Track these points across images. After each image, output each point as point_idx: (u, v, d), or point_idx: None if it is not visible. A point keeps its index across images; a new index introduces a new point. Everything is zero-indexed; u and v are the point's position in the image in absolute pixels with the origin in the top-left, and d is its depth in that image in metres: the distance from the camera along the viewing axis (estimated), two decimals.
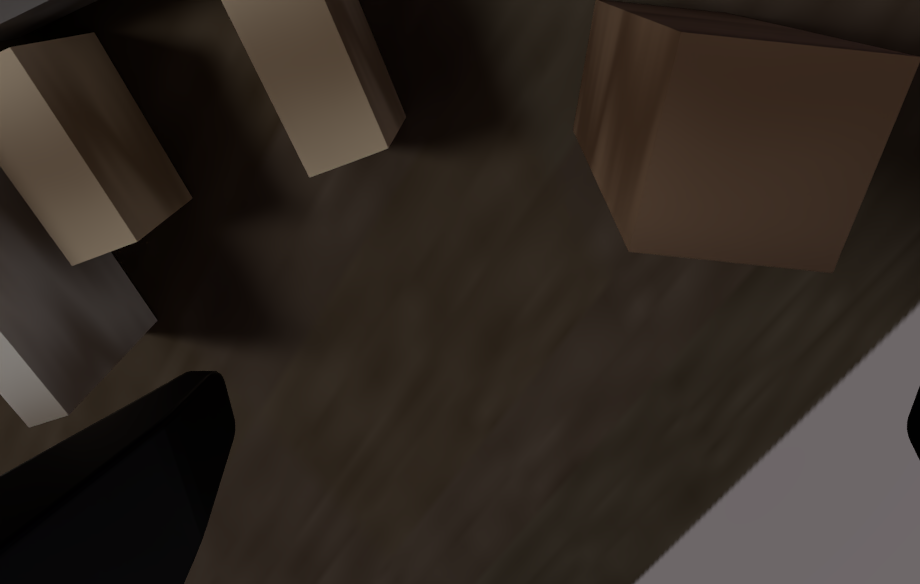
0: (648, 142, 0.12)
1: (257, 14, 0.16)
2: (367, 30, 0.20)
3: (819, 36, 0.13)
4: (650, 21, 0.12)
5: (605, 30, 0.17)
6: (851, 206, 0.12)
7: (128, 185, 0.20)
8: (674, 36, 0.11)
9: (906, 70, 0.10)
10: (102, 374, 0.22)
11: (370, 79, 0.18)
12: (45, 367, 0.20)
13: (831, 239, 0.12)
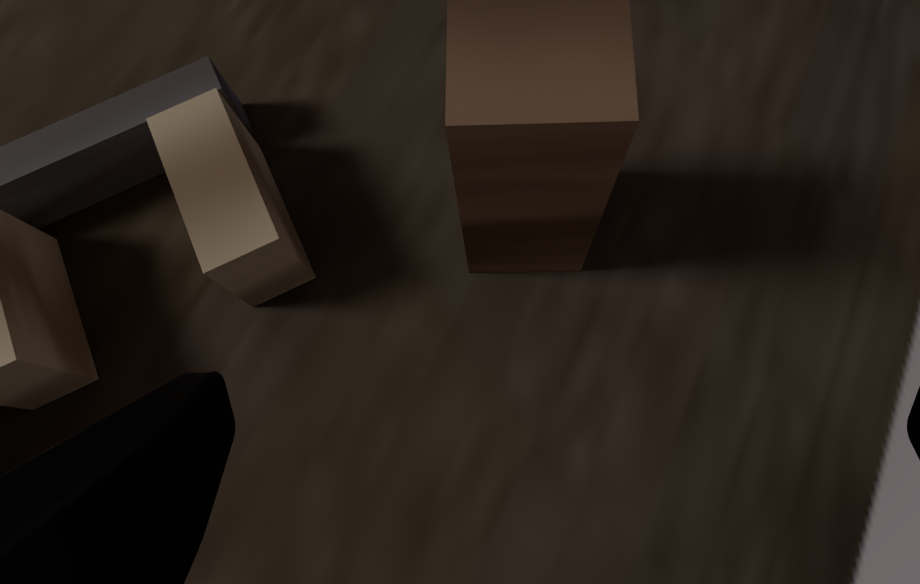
0: None
1: (181, 149, 0.20)
2: (283, 206, 0.23)
3: None
4: None
5: None
6: (627, 63, 0.13)
7: (31, 323, 0.20)
8: None
9: None
10: None
11: (273, 208, 0.21)
12: None
13: (623, 92, 0.13)
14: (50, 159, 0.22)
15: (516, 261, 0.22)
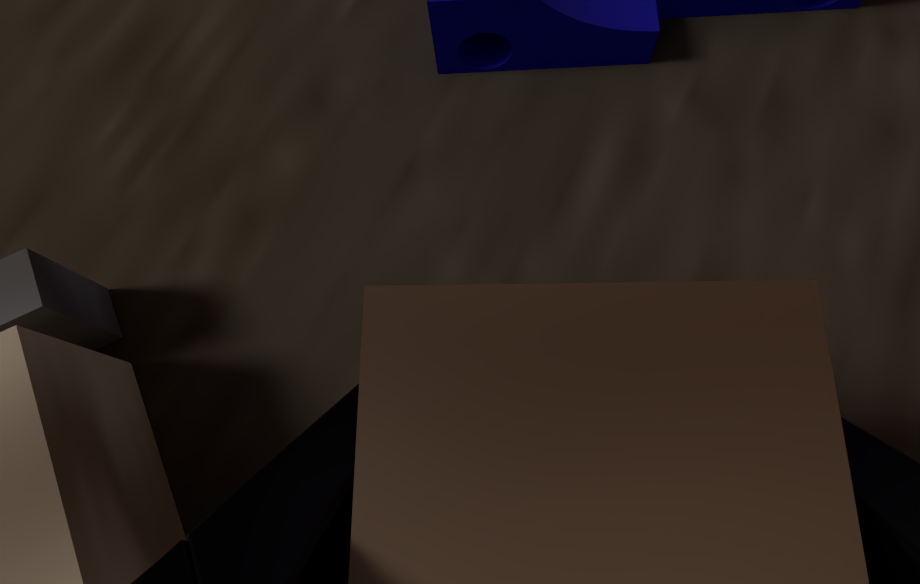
0: (362, 511, 0.06)
1: None
2: (155, 474, 0.15)
3: None
4: None
5: None
6: None
7: None
8: (372, 307, 0.06)
9: (802, 305, 0.05)
10: None
11: (113, 529, 0.12)
12: None
13: None
14: None
15: None
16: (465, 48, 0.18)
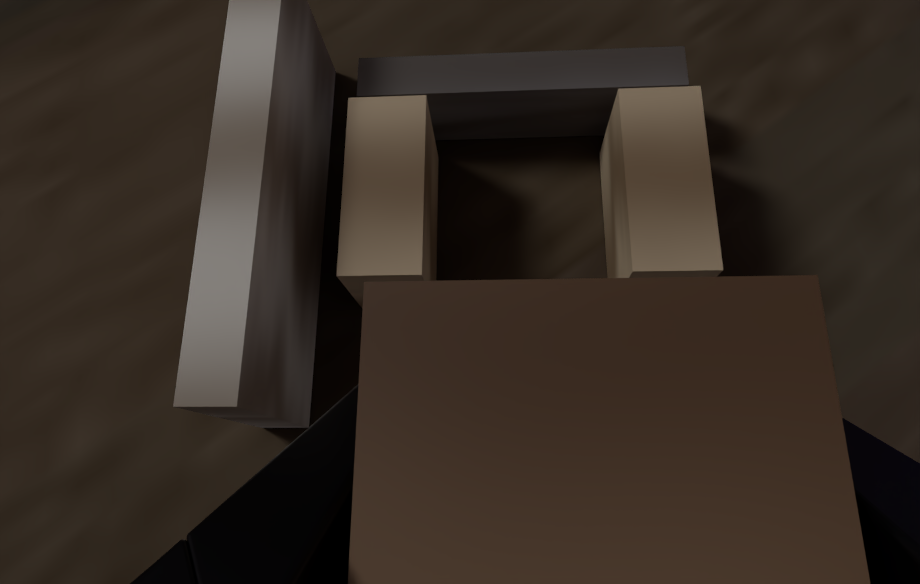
0: None
1: (646, 135, 0.19)
2: None
3: None
4: None
5: None
6: None
7: (427, 240, 0.20)
8: (372, 304, 0.06)
9: (802, 300, 0.05)
10: (267, 411, 0.17)
11: None
12: (250, 345, 0.16)
13: None
14: (495, 86, 0.21)
15: None
16: None
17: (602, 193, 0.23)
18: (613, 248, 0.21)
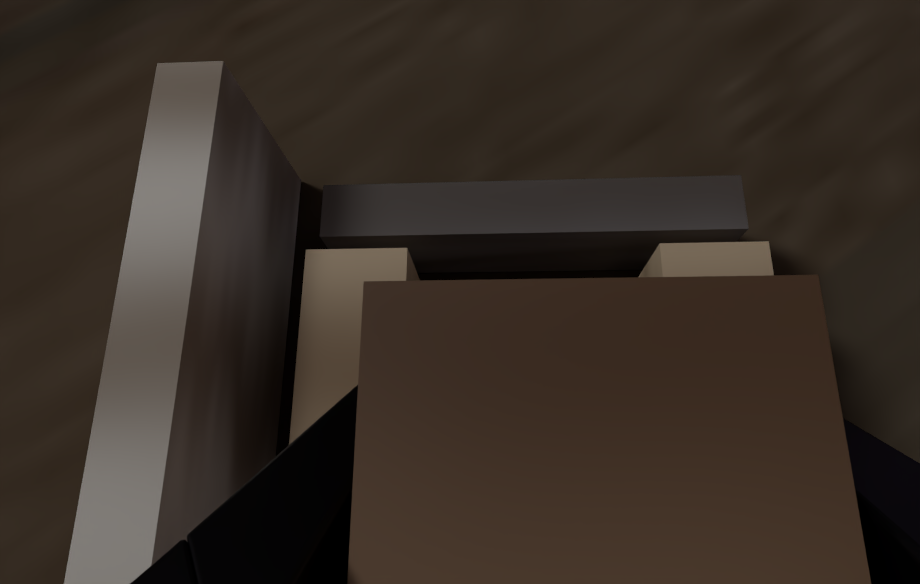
0: None
1: None
2: None
3: None
4: None
5: None
6: None
7: None
8: None
9: (803, 300, 0.05)
10: None
11: None
12: None
13: None
14: (497, 227, 0.16)
15: None
16: None
17: None
18: None
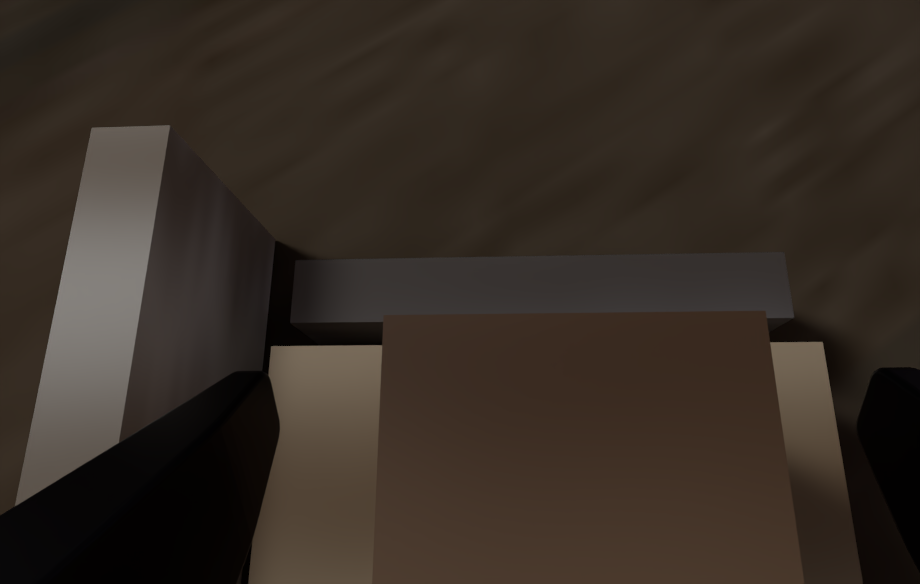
0: (383, 505, 0.07)
1: None
2: None
3: None
4: None
5: None
6: None
7: None
8: (389, 332, 0.07)
9: (752, 332, 0.06)
10: None
11: None
12: None
13: None
14: (497, 312, 0.14)
15: None
16: None
17: None
18: None
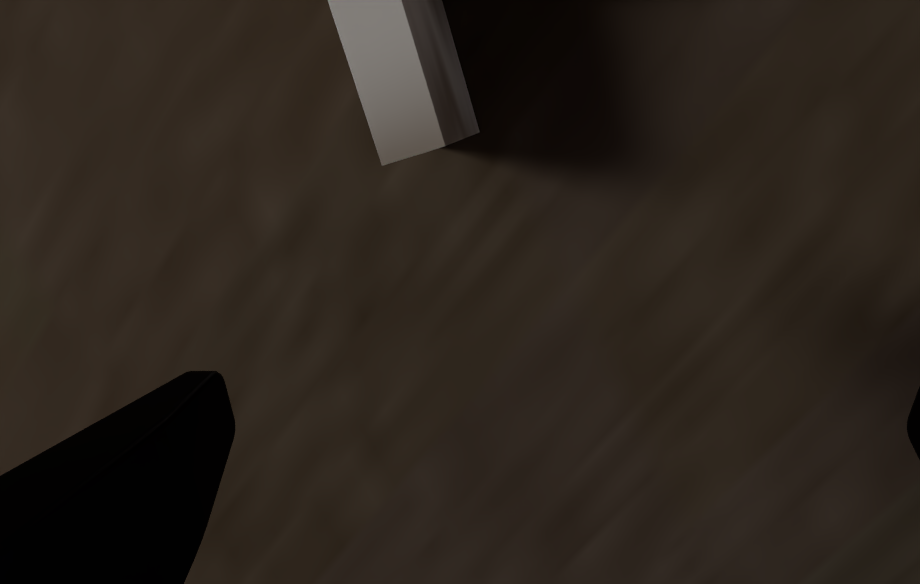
0: None
1: None
2: None
3: None
4: None
5: None
6: None
7: None
8: None
9: None
10: (458, 135, 0.16)
11: None
12: (428, 76, 0.15)
13: None
14: None
15: None
16: None
17: None
18: None
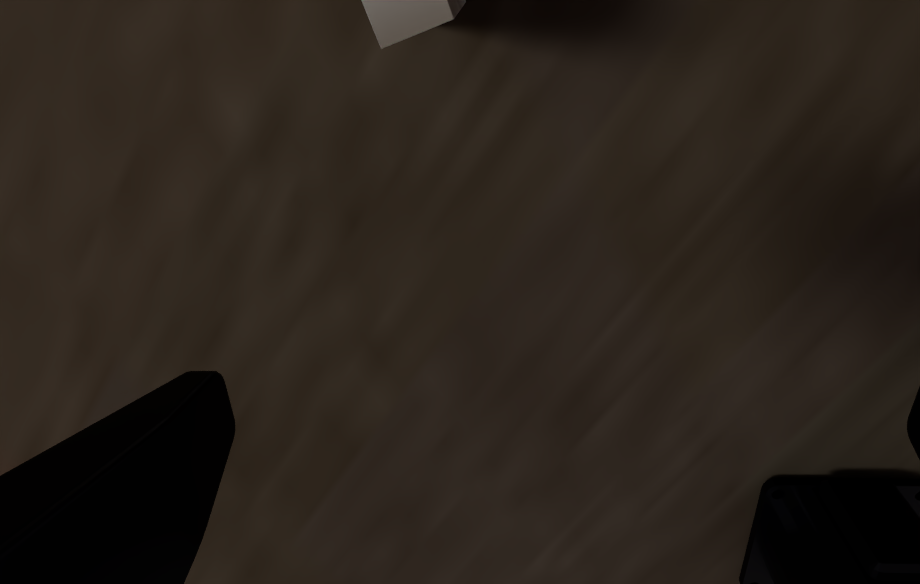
0: None
1: None
2: None
3: None
4: None
5: None
6: None
7: None
8: None
9: None
10: (457, 6, 0.14)
11: None
12: None
13: None
14: None
15: None
16: None
17: None
18: None
